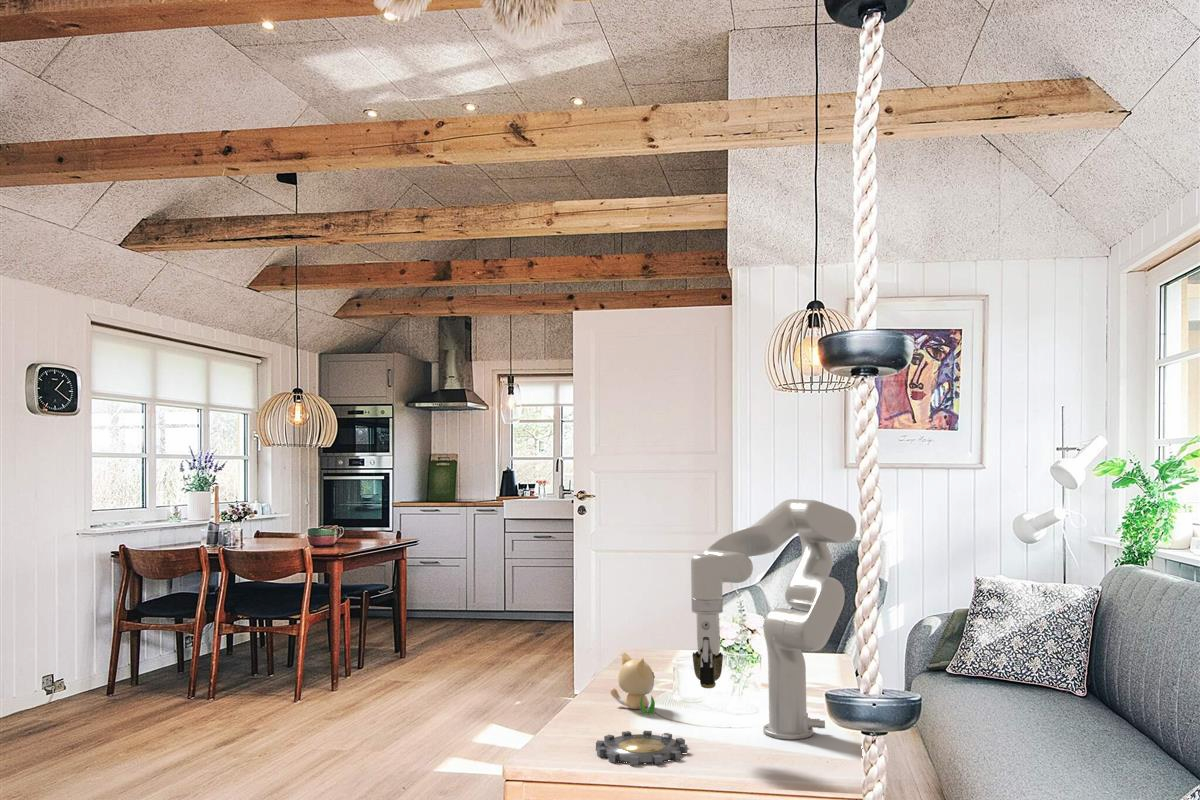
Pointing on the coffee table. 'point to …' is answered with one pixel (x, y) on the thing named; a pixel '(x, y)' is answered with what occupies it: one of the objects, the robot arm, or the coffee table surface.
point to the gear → (641, 748)
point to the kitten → (635, 684)
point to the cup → (716, 664)
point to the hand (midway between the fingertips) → (708, 679)
